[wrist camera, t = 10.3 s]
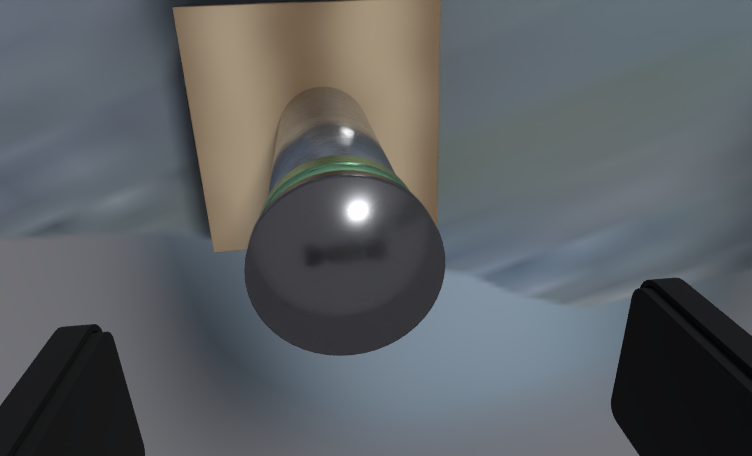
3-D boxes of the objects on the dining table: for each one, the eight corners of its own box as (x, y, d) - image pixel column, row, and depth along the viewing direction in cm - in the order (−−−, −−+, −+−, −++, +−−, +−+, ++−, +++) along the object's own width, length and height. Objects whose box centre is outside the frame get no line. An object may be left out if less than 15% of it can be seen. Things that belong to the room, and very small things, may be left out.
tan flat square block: (427, -3, 28) (440, -2, 25) (425, 213, 33) (436, 234, 30) (181, 5, 26) (167, 7, 24) (217, 229, 31) (210, 253, 29)
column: (372, 77, 26) (447, 170, 13) (375, 176, 28) (442, 345, 15) (266, 83, 25) (231, 185, 12) (278, 183, 27) (257, 364, 14)
